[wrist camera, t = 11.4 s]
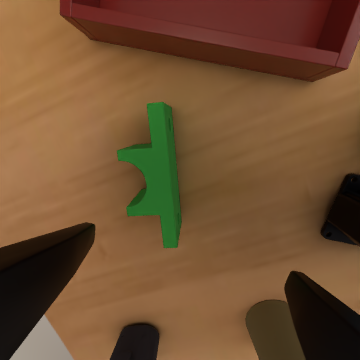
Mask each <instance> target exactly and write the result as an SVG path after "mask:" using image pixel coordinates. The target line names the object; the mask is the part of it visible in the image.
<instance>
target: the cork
mask: <svg viewBox="0 0 360 360" xmlns="http://www.w3.org/2000/svg"><path fill="white" fill-rule="evenodd" d="M245 320H246V326H247V329H248V331H249V334H250V337H251V339H252V342H253V345H254V347H255V350H256V352H257V355H258V358H259V360H306V359H305V356H304V354H303V351H302V348H301V345H300V342H299V340H298V337H297V334H296V331H295V328H294V325H293V321H292V317H291V314H290V310H289V306H288V303H286V302H284V301H279V300H266V301H263V302H260V303H258V304H256V305H254V306H253V307H252V308H251V309H250V310H249V311H248V313H247V315H246V319H245Z"/></svg>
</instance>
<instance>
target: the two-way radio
mask: <svg viewBox="0 0 360 360" xmlns="http://www.w3.org/2000/svg"><path fill="white" fill-rule="evenodd" d="M158 344H159V333H158V332H157V330H156V329H154V328H153V327H151V326H149V325H136V326H129V327H126V328H124V329H123V330H122V332H121V334H120V336H119V338H118V341H117V343H116V346H115V348H114V350H113V353H112V355H111V358H110V360H156V358H157V351H158Z"/></svg>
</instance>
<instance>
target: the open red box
mask: <svg viewBox="0 0 360 360" xmlns="http://www.w3.org/2000/svg"><path fill="white" fill-rule="evenodd" d="M60 15H61V16H62V17H63V18H65V19H66V20H67V21H68V22H70V23H71V24H72V25H73V26H75V27H76V28H77V29H78V30H80V31H81V32H82V33H84V34H85V35H86V36H87V37H88V38H90V39H91V40H96V41H102V42H107V43H112V44H117V45H123V46H128V47H133V48H138V49H143V50H149V51H154V52H159V53H164V54H169V55H175V56H180V57H185V58H190V59H196V60H201V61H206V62H211V63H216V64H222V65H227V66H232V67H237V68H243V69H248V70H253V71H258V72H263V73H269V74H274V75H279V76H284V77H289V78H295V79H300V80H305V81H310V82H314V81H316V80H319V79H322V78H324V77H327V76H330V75H333V74H335V73H338V72H341V71H344V70H346V69H348V66H349V64H350V61H351V59H352V56H353V54H354V51H355V48H356V46H357V43H358V41H359V38H360V0H60Z"/></svg>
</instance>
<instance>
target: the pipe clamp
mask: <svg viewBox="0 0 360 360" xmlns="http://www.w3.org/2000/svg"><path fill="white" fill-rule="evenodd" d="M147 111H148V119H149V127H150V136H151V143H149V144H136V145H132V146H129V147H126V148H123V149H120V150H117V154H118V161H126V162H129V163H132V164H133V165H135V166H136V167H138V168H139V169H140V170H141V172H142V173H143V175H144V177H145V180H146V184H147V188H146V189H142V190H141V191H140V192H139V193H138V194H137V196H136V197H135V198H134V199H133V200H132V201H131V203H130V204H129V205H128V206H127V207H126V209H127V215H128V216H144V215H160V220H161V228H162V237H163V245H164V248H177V247H178V240H179V234H180V228H181V222H182V221H181V210H180V199H179V187H178V176H177V164H176V153H175V142H174V130H173V119H172V108H171V107H170V106H169V105H167V104H165V103H164V102H158V103H148V104H147Z"/></svg>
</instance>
